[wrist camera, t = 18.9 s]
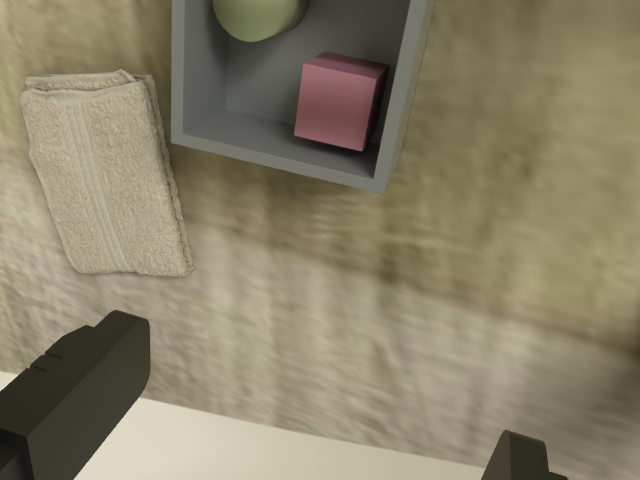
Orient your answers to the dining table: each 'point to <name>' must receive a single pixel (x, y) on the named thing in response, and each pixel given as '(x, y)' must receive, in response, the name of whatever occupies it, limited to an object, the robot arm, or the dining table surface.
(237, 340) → the dining table surface
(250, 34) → the green cylinder
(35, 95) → the washcloth
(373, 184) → the bin
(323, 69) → the pink cube
